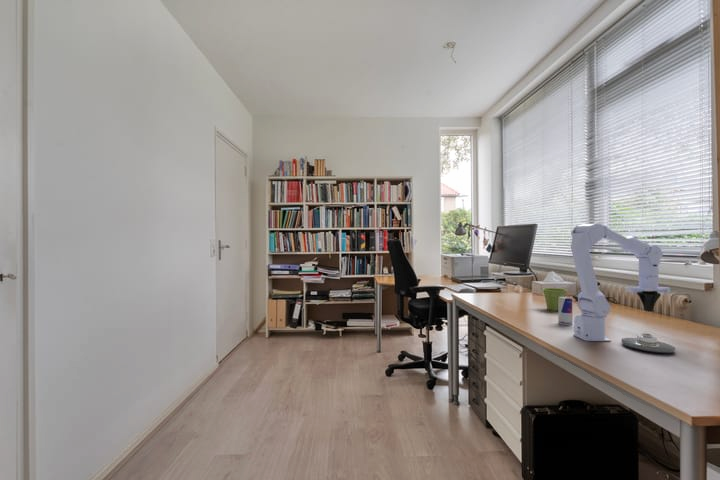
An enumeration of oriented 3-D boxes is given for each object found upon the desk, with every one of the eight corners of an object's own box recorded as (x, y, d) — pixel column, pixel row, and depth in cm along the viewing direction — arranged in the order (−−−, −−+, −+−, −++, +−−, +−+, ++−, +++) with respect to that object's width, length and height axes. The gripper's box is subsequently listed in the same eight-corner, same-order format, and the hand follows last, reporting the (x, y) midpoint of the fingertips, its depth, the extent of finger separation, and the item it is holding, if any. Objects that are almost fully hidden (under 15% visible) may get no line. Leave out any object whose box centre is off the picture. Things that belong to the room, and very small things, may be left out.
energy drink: (572, 326, 143) (572, 298, 143) (558, 324, 146) (558, 297, 146) (572, 323, 148) (572, 297, 148) (558, 321, 150) (558, 296, 150)
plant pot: (567, 309, 179) (567, 288, 179) (567, 313, 169) (567, 291, 169) (542, 306, 185) (542, 287, 185) (541, 310, 175) (541, 289, 175)
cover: (645, 345, 111) (645, 336, 111) (633, 341, 116) (633, 332, 116) (661, 346, 111) (661, 336, 111) (648, 341, 116) (648, 332, 116)
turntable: (642, 354, 107) (642, 350, 107) (611, 341, 121) (611, 337, 121) (687, 355, 106) (687, 350, 106) (650, 342, 120) (650, 338, 120)
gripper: (637, 276, 122) (637, 312, 122) (677, 277, 122) (677, 313, 122) (623, 274, 129) (623, 309, 129) (660, 275, 129) (661, 309, 129)
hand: (648, 310), depth 126 cm, fingers closed
